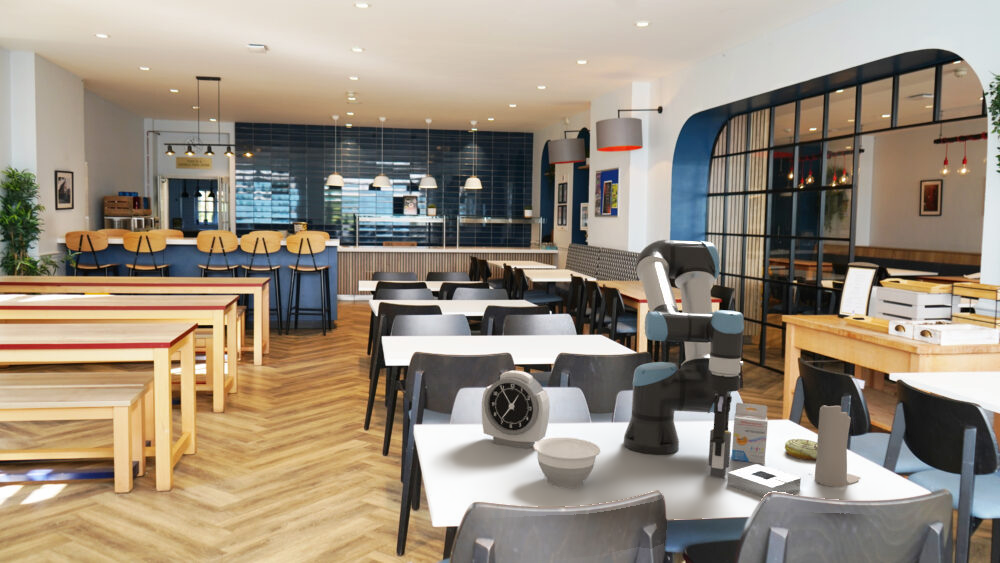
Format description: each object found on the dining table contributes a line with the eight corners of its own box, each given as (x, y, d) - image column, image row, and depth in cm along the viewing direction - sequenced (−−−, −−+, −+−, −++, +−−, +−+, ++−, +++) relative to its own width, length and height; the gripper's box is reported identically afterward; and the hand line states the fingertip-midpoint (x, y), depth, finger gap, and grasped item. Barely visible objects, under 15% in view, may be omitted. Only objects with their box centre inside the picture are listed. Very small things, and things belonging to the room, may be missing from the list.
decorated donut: (821, 464, 204) (822, 451, 203) (780, 456, 210) (781, 442, 210) (830, 455, 212) (831, 442, 212) (790, 447, 218) (791, 434, 218)
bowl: (550, 497, 172) (552, 460, 172) (521, 474, 187) (522, 440, 186) (611, 489, 179) (613, 454, 178) (577, 468, 193) (579, 435, 193)
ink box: (731, 460, 204) (735, 406, 203) (731, 454, 209) (735, 402, 208) (765, 464, 202) (768, 409, 200) (764, 458, 206) (768, 405, 205)
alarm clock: (478, 442, 212) (480, 370, 210) (490, 434, 220) (492, 365, 218) (539, 452, 205) (542, 378, 203) (549, 443, 213) (552, 372, 211)
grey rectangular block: (706, 476, 190) (709, 431, 189) (709, 470, 195) (711, 426, 194) (727, 479, 189) (730, 434, 188) (729, 473, 193) (732, 429, 192)
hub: (727, 484, 185) (727, 471, 185) (755, 475, 192) (756, 463, 192) (771, 500, 176) (772, 486, 175) (799, 490, 183) (800, 477, 183)
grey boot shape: (867, 479, 192) (873, 401, 191) (834, 488, 185) (840, 407, 183) (841, 471, 198) (847, 395, 197) (808, 479, 191) (814, 401, 189)
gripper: (736, 381, 180) (730, 477, 182) (743, 368, 196) (737, 456, 198) (704, 378, 183) (698, 472, 185) (713, 365, 199) (707, 452, 201)
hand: (718, 464), depth 192 cm, fingers closed on grey rectangular block, 5 cm apart
